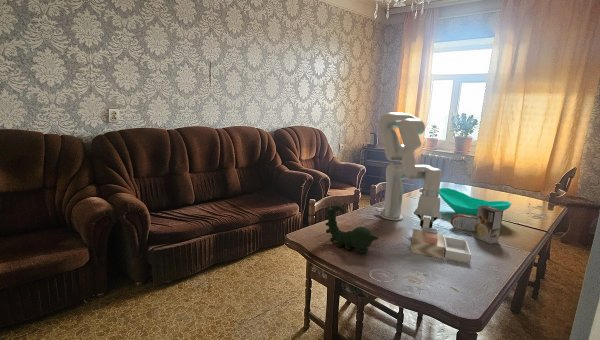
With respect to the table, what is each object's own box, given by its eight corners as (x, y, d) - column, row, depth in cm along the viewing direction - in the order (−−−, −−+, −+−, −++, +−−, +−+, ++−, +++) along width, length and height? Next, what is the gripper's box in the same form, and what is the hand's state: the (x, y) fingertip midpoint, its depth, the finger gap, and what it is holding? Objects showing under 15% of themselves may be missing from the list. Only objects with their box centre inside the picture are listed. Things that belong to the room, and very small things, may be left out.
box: (444, 258, 131) (445, 250, 130) (442, 244, 146) (443, 236, 145) (470, 263, 128) (471, 254, 127) (465, 248, 142) (466, 240, 142)
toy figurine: (321, 246, 140) (372, 261, 124) (321, 205, 138) (373, 215, 122) (333, 240, 148) (383, 253, 132) (333, 201, 145) (383, 210, 129)
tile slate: (424, 236, 141) (425, 231, 141) (424, 232, 146) (425, 227, 145) (436, 238, 139) (437, 233, 139) (435, 234, 144) (436, 229, 143)
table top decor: (426, 211, 193) (428, 191, 191) (446, 204, 211) (449, 185, 208) (497, 232, 164) (502, 208, 161) (514, 222, 181) (518, 200, 179)
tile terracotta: (424, 242, 135) (425, 236, 134) (424, 237, 139) (425, 232, 139) (437, 244, 133) (437, 238, 132) (436, 239, 138) (437, 234, 137)
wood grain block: (410, 252, 136) (412, 241, 135) (411, 238, 150) (413, 229, 149) (443, 258, 131) (445, 247, 130) (441, 244, 146) (442, 234, 145)
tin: (480, 231, 164) (483, 216, 163) (481, 233, 161) (484, 218, 160) (449, 227, 169) (451, 212, 167) (449, 229, 166) (452, 213, 164)
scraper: (421, 238, 151) (423, 222, 149) (421, 227, 165) (423, 212, 164) (428, 240, 150) (430, 223, 148) (427, 228, 164) (429, 213, 163)
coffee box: (498, 242, 151) (504, 210, 148) (489, 244, 149) (495, 211, 146) (481, 235, 160) (486, 205, 156) (472, 236, 157) (477, 206, 154)
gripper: (412, 192, 153) (408, 227, 156) (449, 197, 147) (443, 233, 151) (413, 188, 159) (408, 222, 163) (448, 193, 154) (442, 228, 157)
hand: (425, 227), depth 157 cm, fingers closed on scraper, 3 cm apart
